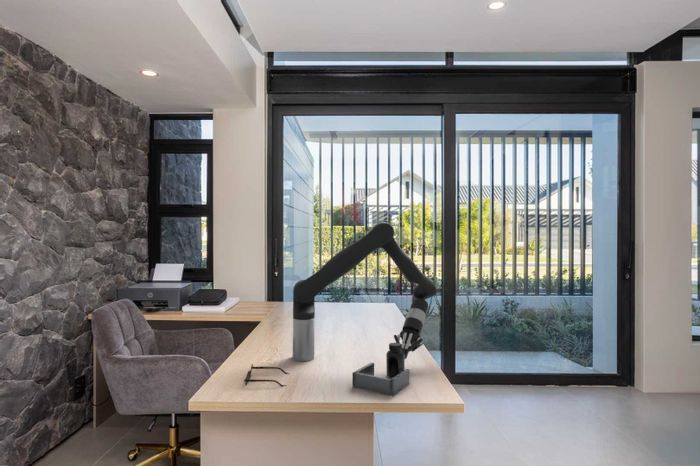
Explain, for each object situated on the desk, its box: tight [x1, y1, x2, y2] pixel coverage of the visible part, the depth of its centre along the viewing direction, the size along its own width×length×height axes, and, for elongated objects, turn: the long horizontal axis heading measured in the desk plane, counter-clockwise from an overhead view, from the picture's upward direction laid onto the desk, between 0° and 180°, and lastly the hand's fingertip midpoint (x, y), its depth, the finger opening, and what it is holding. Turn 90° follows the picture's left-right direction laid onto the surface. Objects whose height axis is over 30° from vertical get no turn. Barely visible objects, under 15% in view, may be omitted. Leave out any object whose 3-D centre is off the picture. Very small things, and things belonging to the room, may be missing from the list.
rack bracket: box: [351, 362, 410, 397], centre depth 150 cm, size 14×15×5 cm
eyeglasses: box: [243, 364, 290, 388], centre depth 154 cm, size 15×15×5 cm
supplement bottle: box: [385, 342, 406, 379], centre depth 160 cm, size 7×7×12 cm
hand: (402, 358), depth 165 cm, fingers closed
